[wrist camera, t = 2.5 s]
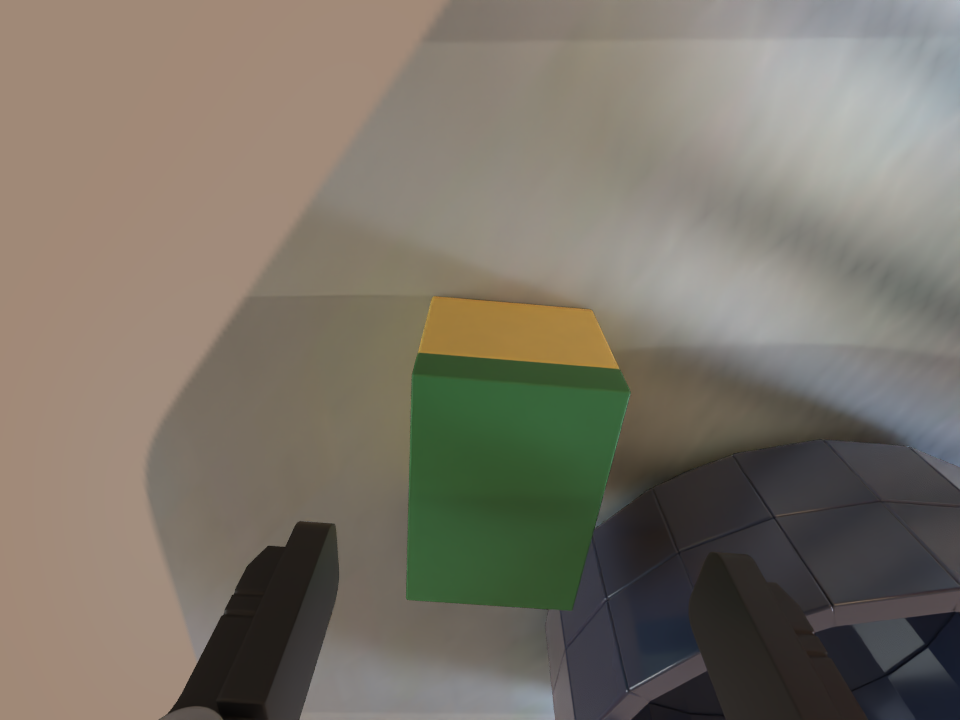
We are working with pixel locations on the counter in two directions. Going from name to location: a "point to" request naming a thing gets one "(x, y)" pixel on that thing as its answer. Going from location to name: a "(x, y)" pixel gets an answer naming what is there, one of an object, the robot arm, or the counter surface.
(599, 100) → the counter surface
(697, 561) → the bowl
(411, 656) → the counter surface
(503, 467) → the sponge
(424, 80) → the counter surface
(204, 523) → the counter surface
